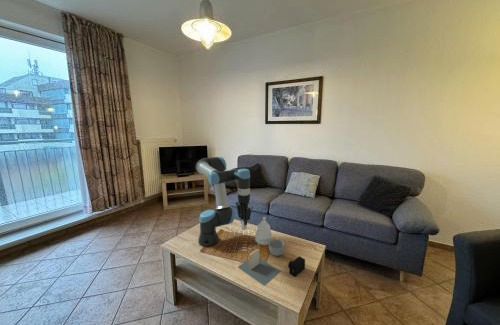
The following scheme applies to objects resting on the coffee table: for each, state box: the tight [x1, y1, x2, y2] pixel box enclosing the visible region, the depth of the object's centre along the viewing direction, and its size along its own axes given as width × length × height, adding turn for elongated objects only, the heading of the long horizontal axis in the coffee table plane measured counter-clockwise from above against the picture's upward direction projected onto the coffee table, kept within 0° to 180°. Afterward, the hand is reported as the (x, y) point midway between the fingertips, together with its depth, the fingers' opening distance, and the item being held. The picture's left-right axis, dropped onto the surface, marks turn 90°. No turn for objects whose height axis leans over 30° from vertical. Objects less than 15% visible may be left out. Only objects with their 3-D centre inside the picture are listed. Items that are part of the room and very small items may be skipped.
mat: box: [237, 258, 282, 286], centre depth 128 cm, size 22×16×1 cm
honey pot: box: [254, 216, 273, 246], centre depth 159 cm, size 13×13×18 cm
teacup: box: [268, 237, 285, 257], centre depth 145 cm, size 14×11×8 cm
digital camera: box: [287, 256, 306, 278], centre depth 127 cm, size 10×5×7 cm, turn 134°
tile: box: [248, 248, 261, 270], centre depth 130 cm, size 2×8×10 cm, turn 136°
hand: (244, 229), depth 133 cm, fingers closed
